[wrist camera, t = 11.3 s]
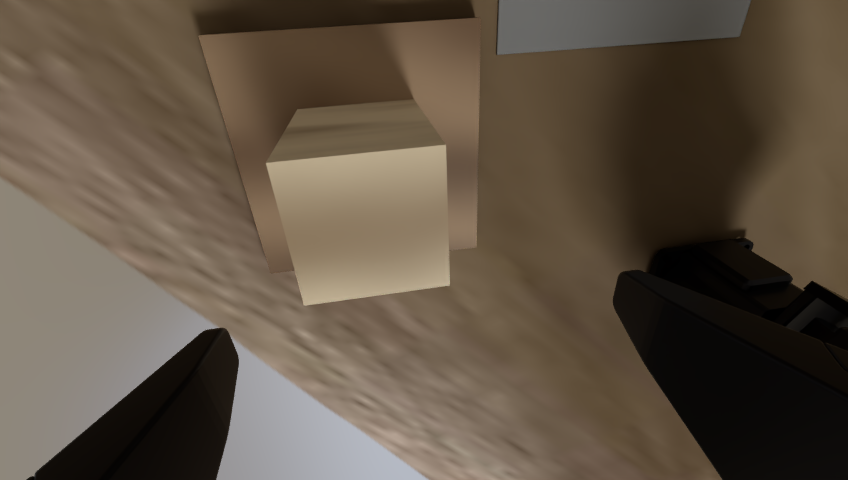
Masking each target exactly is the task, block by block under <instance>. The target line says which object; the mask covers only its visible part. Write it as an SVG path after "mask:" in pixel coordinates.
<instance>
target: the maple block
mask: <svg viewBox="0 0 848 480" xmlns="http://www.w3.org/2000/svg"><path fill="white" fill-rule="evenodd" d="M266 166H267V169H268V173H269V177H270V181H271V184H272V188H273V192H274V195H275V199H276V203H277V207H278V210H279V214H280V218H281V221H282V225H283V229H284V233H285V236H286V240H287V244H288V247H289V251H290V255H291V258H292V262H293V266H294V270H295V273H296V277H297V281H298V284H299V288H300V292H301V296H302V299H303V303H304V306H305V305H312V304H320V303H327V302H334V301H341V300H348V299H356V298H363V297H370V296H377V295H384V294H391V293H399V292H406V291H413V290H420V289H427V288H434V287H442V286H449V285H450V272H449V235H448V198H447V161H446V144H445V142H444V141H443V140H442V138H441V137H440V135H439V134H438V133H437V131H436V130H435V128H434V127H433V125H432V124H431V123H430V121H429V120H428V118H427V117H426V116H425V114H424V113H423V111H422V110H421V108H420V107H419V106H418V104H417V103H416V101H415V100H414V99H409V100H398V101H386V102H375V103H363V104H352V105H341V106H329V107H318V108H306V109H297V111H296V112H295V114H294V116H293V118H292V119H291V121H290V123H289V124H288V126H287V128H286V129H285V131H284V133H283V135H282V136H281V138H280V140H279V141H278V143H277V145H276V146H275V148H274V150H273V151H272V153H271V155H270V157H269V158H268V160H267V162H266Z"/></svg>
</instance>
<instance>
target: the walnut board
mask: <svg viewBox="0 0 848 480" xmlns="http://www.w3.org/2000/svg"><path fill="white" fill-rule="evenodd" d="M480 34H481V18H460V19H444V20H428V21H412V22H397V23H381V24H365V25H349V26H333V27H317V28H301V29H286V30H270V31H254V32H238V33H222V34H206V35H199V40H200V43H201V46H202V50H203V53H204V56H205V59H206V63H207V66H208V69H209V73H210V76H211V79H212V82H213V86H214V89H215V92H216V96H217V99H218V102H219V105H220V109H221V112H222V115H223V119H224V122H225V125H226V128H227V132H228V135H229V138H230V142H231V145H232V148H233V151H234V155H235V158H236V161H237V165H238V168H239V171H240V174H241V178H242V181H243V184H244V188H245V191H246V194H247V197H248V201H249V204H250V207H251V211H252V214H253V217H254V220H255V224H256V227H257V230H258V234H259V237H260V240H261V243H262V247H263V250H264V253H265V257H266V260H267V263H268V266H269V270H270V273H279V272H287V271H294V266H293V262H292V258H291V255H290V251H289V247H288V244H287V240H286V236H285V233H284V229H283V225H282V221H281V218H280V214H279V210H278V207H277V203H276V199H275V195H274V192H273V188H272V184H271V181H270V177H269V173H268V169H267V166H266V162H267V160H268V158H269V157H270V155H271V153H272V151H273V150H274V148H275V146H276V145H277V143H278V141H279V140H280V138H281V136H282V135H283V133H284V131H285V129H286V128H287V126H288V124H289V123H290V121H291V119H292V118H293V116H294V114H295V112H296V111H297V109H306V108H318V107H329V106H341V105H352V104H363V103H375V102H386V101H398V100H409V99H414V100H415V101H416V103H417V104H418V106H419V107H420V108H421V110H422V111H423V113H424V114H425V116H426V117H427V118H428V120H429V121H430V123H431V124H432V125H433V127H434V128H435V130H436V131H437V133H438V134H439V135H440V137H441V138H442V140H443V141H444V142H445V144H446V161H447V198H448V235H449V251H452V250H460V249H467V248H475V247H477V195H478V141H479V87H480Z"/></svg>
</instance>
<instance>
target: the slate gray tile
mask: <svg viewBox="0 0 848 480" xmlns="http://www.w3.org/2000/svg"><path fill="white" fill-rule="evenodd" d="M750 2H751V0H499V1H498V28H497V54H496V55H500V54H514V53H527V52H541V51H554V50H568V49H581V48H595V47H608V46H622V45H635V44H649V43H662V42H676V41H689V40H703V39H717V38H730V37H740V34H741V30H742V27H743V24H744V21H745V18H746V15H747V11H748V8H749V5H750Z"/></svg>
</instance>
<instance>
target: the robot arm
mask: <svg viewBox="0 0 848 480" xmlns="http://www.w3.org/2000/svg"><path fill="white" fill-rule="evenodd" d="M752 248H753V242H751V241H750V240H748V239H746V238H741V239H734V240H724V241H716V242H709V243H701V244H696V245H689V246H682V247H674V248H667V249H662V250H660V251H658V252H657V253H656V255H655V257H654V261H653V264H652V268H651V271H650V274H649V273H646V272H643V271H641V270H630V271H624V272H621V273H620V274H619V276H618V279H617V283H616V288H615V292H614V296H613V306H614V309H615V311H616V313H617V315H618V316H619V318H620V320H621V322H622V324H623V326H624V328H625V329H626V331H627V333H628V335H629V337H630V339H631V341H632V342H633V344H634V346H635V348H636V350H637V352H638V354H639V355H640V357H641V359H642V361H643V362H644V364H645V366H646V367H647V369H648V370H649V372H650V373H651V375H652V376H653V378H654V379H655V381H656V382H657V384H658V385H659V387H660V388H661V390H662V391H663V393H664V394H665V396H666V397H667V398H668V400H669V401H670V403H671V404H672V406H673V407H674V409H675V410H676V412H677V413H678V415H679V416H680V418H681V419H682V421H683V422H684V424H685V425H686V427H687V428H688V430H689V431H690V432H691V434H692V435H693V437H694V438H695V440H696V441H697V443H698V444H699V446H700V447H701V449H702V450H703V452H704V453H705V455H706V456H707V458H708V459H709V461H710V462H711V463H712V465H713V466H714V468H715V469H716V471H717V472H718V474H719V475H720V477H721V478H722V480H848V299H846V298H844V297H842V296H840V295H838V294H836V293H835V292H833V291H831V290H829V289H827V288H825V287H823V286H821V285H819V284H817V283H816V282H814V281H811V282H810V283H809V284H808V285H807V286H806V287H804V288H803V289H805V290H804V291H803V290H801V289H800V288H798V287H796V286H795V285H793V284H792V283H791V282H792V280H793V278H792V276H791V275H790V274H789V273H787V272H785V271H784V270H782V269H780V268H779V267H777V266H775V265H774V264H772V263H770V262H769V261H767V260H765V259H764V258H762V257H760V256H759V255H757V254H755V253H754V252H752V251H751V250H752ZM238 366H239V359H238V354H237V352H236V349H235V347H234V344H233V342H232V339H231V337H230V335H229V332H228V331H227V330H226V329H225V328H216V329H209V330H205V331H203V332H202V333H200V334H199V335H198V336H197V337H196V338H194V339H193V340H192V341H191V342H190V343H189V344H187V345H186V346H185V347H184V348H183V349H181V350H180V351H179V352H178V353H177V354H176V355H174V356H173V357H172V358H171V359H170V360H168V361H167V362H166V363H165V364H164V365H162V366H161V367H160V368H159V369H158V370H157V371H155V372H154V373H153V374H152V375H151V376H149V377H148V378H147V379H146V380H145V381H143V382H142V383H141V384H140V385H139V386H137V387H136V388H135V389H134V390H133V391H132V392H130V393H129V394H128V395H127V396H126V397H124V398H123V399H122V400H121V401H120V402H118V403H117V404H116V405H115V406H114V407H113V408H111V409H110V410H109V411H108V412H107V413H106V414H104V415H103V416H102V417H101V418H99V419H98V420H97V421H96V422H95V423H93V424H92V425H91V426H90V427H89V428H88V429H87V430H85V431H84V432H83V433H82V434H80V435H79V436H78V437H77V438H76V439H74V440H73V441H72V442H71V443H70V444H68V445H67V446H66V447H65V448H64V449H63V450H61V452H59V453H58V454H57V455H55V456H54V457H53V458H52V459H51V460H49V461H48V462H47V463H46V464H45V465H44V466H42V467H41V468H40V469H39V470H38V471H37V472H36V473H35V476H32V477H29V478H28V479H27V480H216V478H217V474H218V470H219V466H220V463H221V459H222V455H223V452H224V448H225V444H226V440H227V436H228V431H229V426H230V420H231V413H232V406H233V400H234V393H235V386H236V380H237V373H238Z"/></svg>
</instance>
